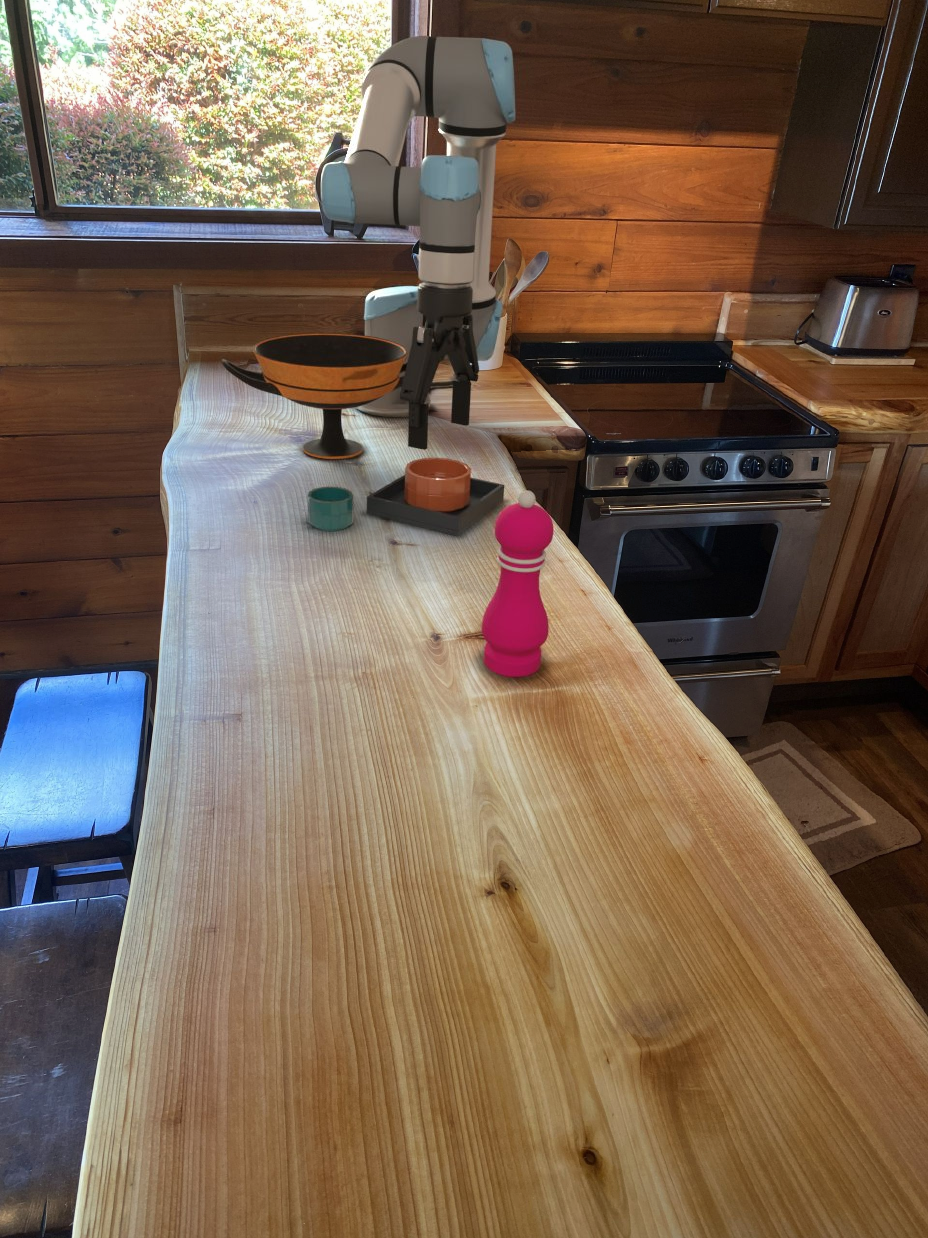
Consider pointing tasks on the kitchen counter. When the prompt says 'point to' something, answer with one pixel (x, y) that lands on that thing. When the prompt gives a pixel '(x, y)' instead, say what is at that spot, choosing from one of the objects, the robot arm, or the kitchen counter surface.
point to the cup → (326, 378)
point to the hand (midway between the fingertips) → (439, 435)
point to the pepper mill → (518, 590)
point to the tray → (396, 508)
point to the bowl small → (330, 508)
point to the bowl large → (437, 484)
